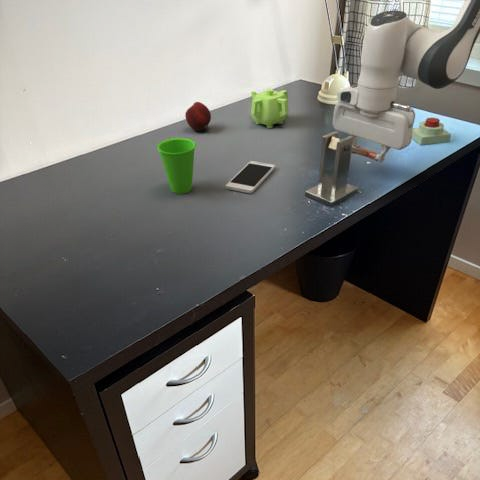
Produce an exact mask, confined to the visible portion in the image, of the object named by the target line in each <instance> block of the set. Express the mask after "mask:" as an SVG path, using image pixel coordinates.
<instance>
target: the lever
mask: <svg viewBox="0 0 480 480" xmlns="http://www.w3.org/2000/svg"><path fill="white" fill-rule="evenodd" d="M341 139H342V138H339V137H338V138H335V137H332V138H331V141H330V144H329V147H328V148H331V149H333V150H336V149H337V141H339V140H341ZM351 151H352V152H355V153H356V154H357V155H360V156H361V157H362V156H363V157H365V158H367V159H368V158H369V159H371V160H374V161H375V158H376V154H377V153H378V152H375V151H371V150H369V149H367V148H363V147H361V146H360V147H357V148H355V147H352V150H351ZM356 154H355V155H356Z"/></svg>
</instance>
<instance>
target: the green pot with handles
mask: <svg viewBox="0 0 480 480" xmlns="http://www.w3.org/2000/svg"><path fill="white" fill-rule="evenodd" d="M250 94H251V98H252V100H251V107H250V115H251V118H252V120H253V121H254V122H255V124H256V125H266V128H267V129H272V128H273V127H274V124H278V125H282V124H284V121H285V120H286V119H287V117H288V115H289V113H290V110H289V98H288V96H289V95H288V90H285V89H282V90H280V91H276V90H274V89H273V88H267V89H266V90H265V91H261V92H259V93H257V92H256V91H251V92H250Z"/></svg>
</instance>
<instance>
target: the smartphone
mask: <svg viewBox="0 0 480 480" xmlns="http://www.w3.org/2000/svg"><path fill="white" fill-rule="evenodd" d="M275 169H276V165H275V164H273V163H265V162H260V161H255V160H254V161H253V160H250V161H249V162H248V163H247V164H246V165H245V166H244V167H243V168H242V169H240V170H239V171H238V173H236V175H234V176H233V177H232V178H231V179H230V180H229V181H228V182H227V183H226V185H225V189H226V190H230V191H231V190H232V191H235V192H242V193H246V194H253V193H254V192H255V191H256V190H257V188H259V187H260V185H261V184H262V183H263V182H264V181H265V180H266V179H267V178H268V177H269V176H270V175H271V173H272V172H274V170H275Z"/></svg>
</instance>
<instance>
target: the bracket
mask: <svg viewBox="0 0 480 480" xmlns="http://www.w3.org/2000/svg"><path fill="white" fill-rule="evenodd" d="M339 134H340V131H338V130H333V131H331V132H329V133H327V134H325V135H323V136H322V140H321V141H322V142H321V154H320V164H319V174H318V184H317V185H315V186H313V187H311V188H309V189H307V190H305V193H304V196H305V197H308V198H310V199H312V200H314V201H317V202H319V203H322V204H324V205H326V206H328V207H331V208H333V207H334V206H336V205H338V204H339V203H342V202H343V201H345V200H347V199H349V198H350V197H352V196H354V195H356V194H358V192H359V187H358V186H355V185H352V184H350V183H348V180H349V172H350V165H351V164H350V163H351V156H352V153H351V150H352V143H353V136H348V135H347V136H346V137H342V138H340V139H341V140H339V141H337V149H336V150H333V149H331V148H328V147H329V144H330V141H331V138H332V137H335V138H338V139H339Z"/></svg>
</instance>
